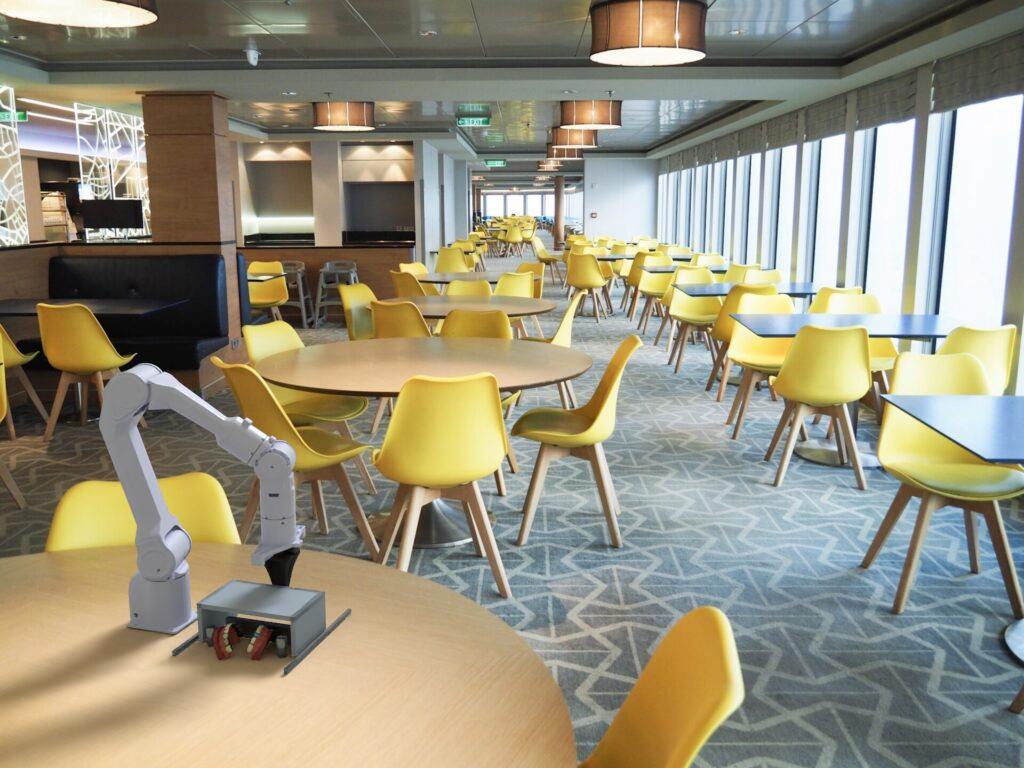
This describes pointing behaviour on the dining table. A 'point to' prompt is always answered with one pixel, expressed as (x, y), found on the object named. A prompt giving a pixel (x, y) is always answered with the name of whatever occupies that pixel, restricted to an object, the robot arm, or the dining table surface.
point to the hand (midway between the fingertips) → (281, 590)
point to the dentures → (231, 636)
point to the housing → (266, 608)
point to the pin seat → (279, 637)
